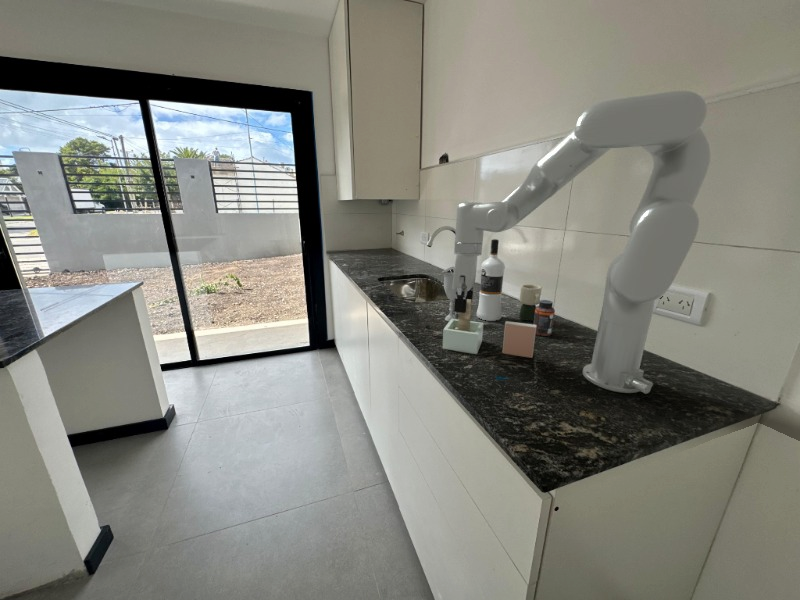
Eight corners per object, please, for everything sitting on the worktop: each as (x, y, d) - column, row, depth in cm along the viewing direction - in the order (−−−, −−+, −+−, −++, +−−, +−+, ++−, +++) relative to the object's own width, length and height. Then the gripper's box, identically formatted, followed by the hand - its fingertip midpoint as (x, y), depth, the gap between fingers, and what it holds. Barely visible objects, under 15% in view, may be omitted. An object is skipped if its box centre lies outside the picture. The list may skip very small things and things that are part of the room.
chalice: (437, 319, 119) (439, 273, 114) (452, 317, 122) (454, 271, 117) (448, 326, 113) (450, 277, 108) (463, 323, 116) (466, 275, 111)
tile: (532, 358, 89) (536, 324, 86) (532, 361, 87) (536, 327, 84) (502, 353, 92) (505, 321, 89) (501, 356, 90) (505, 323, 87)
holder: (481, 343, 98) (483, 322, 96) (476, 357, 89) (478, 334, 88) (450, 339, 102) (451, 318, 100) (442, 351, 93) (443, 329, 91)
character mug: (544, 324, 115) (548, 289, 111) (526, 325, 114) (530, 290, 110) (528, 314, 125) (532, 282, 122) (511, 315, 124) (515, 283, 121)
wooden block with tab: (472, 343, 96) (475, 299, 92) (470, 347, 93) (473, 302, 89) (455, 341, 98) (458, 298, 94) (453, 345, 95) (455, 300, 91)
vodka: (505, 321, 118) (513, 240, 110) (481, 322, 117) (487, 240, 108) (494, 313, 127) (501, 238, 118) (472, 314, 126) (477, 238, 117)
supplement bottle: (554, 336, 104) (559, 304, 100) (536, 336, 104) (540, 304, 101) (547, 330, 109) (551, 298, 106) (529, 330, 109) (533, 298, 106)
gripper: (461, 244, 96) (457, 298, 101) (447, 251, 81) (443, 314, 86) (486, 246, 94) (480, 301, 99) (476, 253, 78) (471, 318, 83)
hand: (463, 307), depth 92 cm, fingers open, 9 cm apart
